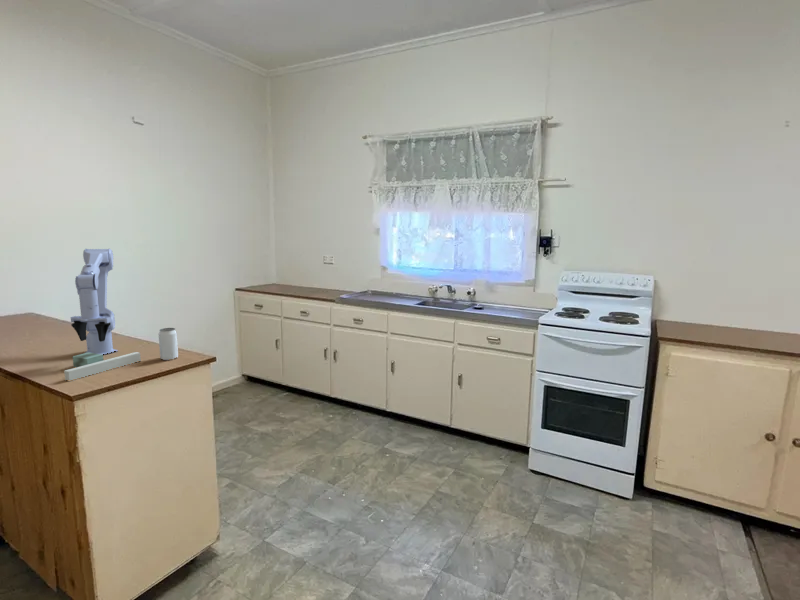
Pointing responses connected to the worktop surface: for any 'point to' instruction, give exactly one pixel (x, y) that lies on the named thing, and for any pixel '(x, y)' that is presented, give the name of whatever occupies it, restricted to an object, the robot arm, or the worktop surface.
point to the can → (168, 343)
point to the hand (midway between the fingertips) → (92, 340)
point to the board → (101, 366)
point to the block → (86, 359)
